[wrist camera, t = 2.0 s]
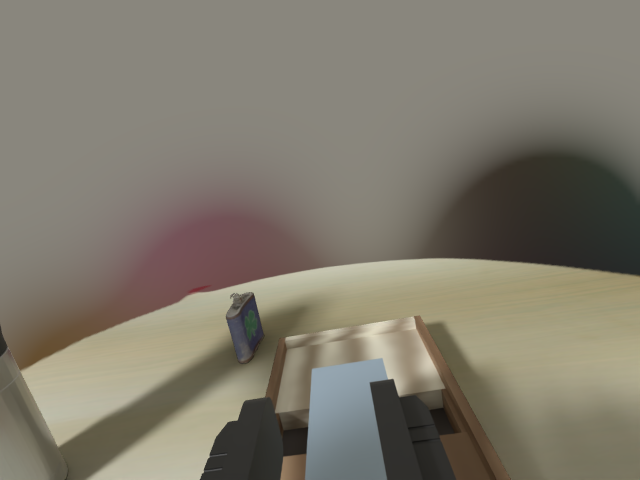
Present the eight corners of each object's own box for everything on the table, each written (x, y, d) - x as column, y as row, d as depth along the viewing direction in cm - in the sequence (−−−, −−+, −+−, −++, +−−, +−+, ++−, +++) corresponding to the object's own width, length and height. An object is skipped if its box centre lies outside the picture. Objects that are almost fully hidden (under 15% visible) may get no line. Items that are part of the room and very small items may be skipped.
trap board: (212, 755, 19) (189, 708, 18) (285, 362, 54) (279, 338, 53) (614, 724, 18) (617, 672, 16) (423, 341, 52) (419, 315, 51)
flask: (249, 363, 55) (233, 305, 53) (233, 365, 56) (216, 307, 53) (266, 333, 64) (253, 281, 61) (252, 334, 65) (238, 283, 62)
